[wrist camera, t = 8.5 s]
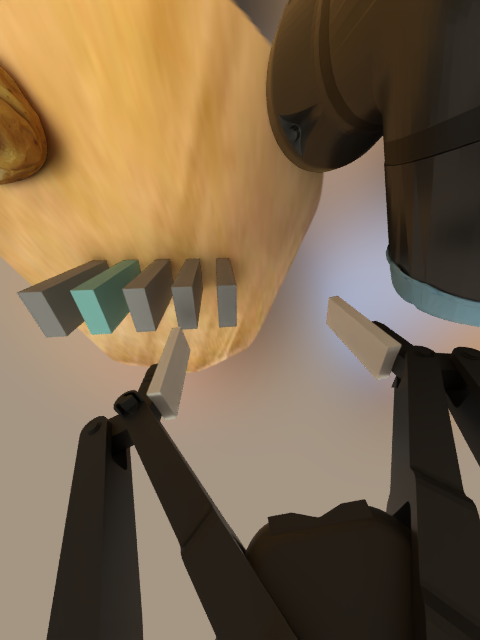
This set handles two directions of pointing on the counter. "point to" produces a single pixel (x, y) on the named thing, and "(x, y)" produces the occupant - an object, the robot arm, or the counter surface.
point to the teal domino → (106, 297)
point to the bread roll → (18, 134)
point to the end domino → (59, 299)
